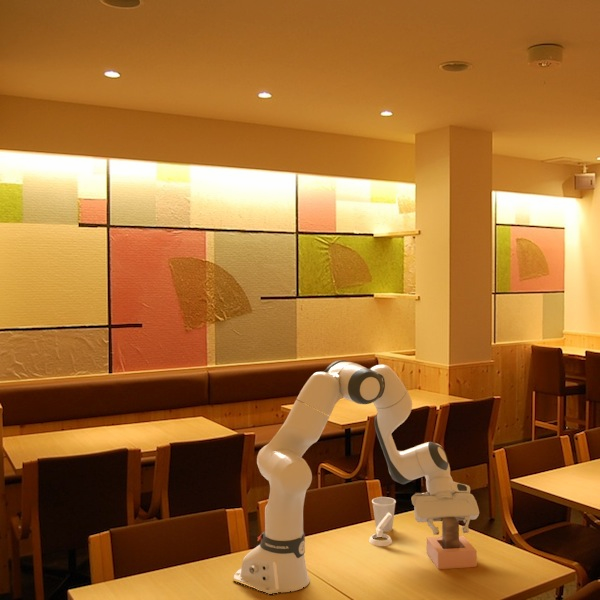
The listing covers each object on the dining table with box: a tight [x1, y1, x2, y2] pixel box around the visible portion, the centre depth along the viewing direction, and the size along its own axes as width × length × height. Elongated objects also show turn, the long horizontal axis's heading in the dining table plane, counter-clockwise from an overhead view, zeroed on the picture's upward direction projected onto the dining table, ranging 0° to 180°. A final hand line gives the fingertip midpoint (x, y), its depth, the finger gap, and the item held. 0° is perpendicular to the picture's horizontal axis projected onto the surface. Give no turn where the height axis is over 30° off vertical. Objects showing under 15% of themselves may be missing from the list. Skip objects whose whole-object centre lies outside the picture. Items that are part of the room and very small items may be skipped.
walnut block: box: [441, 517, 460, 549], centre depth 218 cm, size 4×4×12 cm
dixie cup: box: [371, 496, 397, 533], centre depth 244 cm, size 8×8×10 cm
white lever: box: [368, 513, 393, 547], centre depth 233 cm, size 8×12×7 cm
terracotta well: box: [426, 535, 478, 570], centre depth 218 cm, size 12×12×5 cm
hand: (451, 533), depth 217 cm, fingers open, 8 cm apart
